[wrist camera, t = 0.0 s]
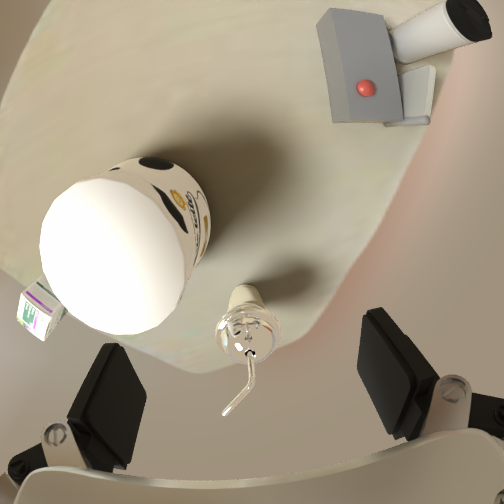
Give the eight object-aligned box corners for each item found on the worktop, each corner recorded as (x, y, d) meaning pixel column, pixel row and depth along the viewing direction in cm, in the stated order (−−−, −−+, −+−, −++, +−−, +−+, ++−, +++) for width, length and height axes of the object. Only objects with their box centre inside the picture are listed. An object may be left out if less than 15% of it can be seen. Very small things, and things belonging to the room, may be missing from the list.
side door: (391, 77, 33) (430, 64, 23) (399, 81, 33) (439, 70, 24) (382, 125, 36) (422, 122, 26) (390, 128, 36) (431, 127, 26)
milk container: (235, 237, 41) (236, 301, 24) (141, 288, 43) (101, 362, 26) (174, 132, 35) (128, 121, 18) (83, 197, 37) (8, 232, 20)
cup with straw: (280, 306, 46) (306, 400, 27) (230, 327, 46) (231, 425, 28) (258, 263, 43) (277, 351, 24) (205, 287, 44) (190, 382, 25)
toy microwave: (316, 25, 30) (331, 5, 23) (370, 30, 30) (392, 15, 23) (332, 122, 36) (352, 118, 29) (387, 123, 36) (413, 120, 29)
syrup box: (67, 251, 40) (18, 291, 26) (94, 271, 41) (50, 318, 28) (58, 275, 41) (13, 318, 28) (83, 294, 43) (43, 343, 29)
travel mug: (379, 26, 30) (454, -20, 11) (412, 39, 30) (492, 7, 12) (381, 57, 32) (465, 20, 13) (414, 69, 33) (501, 47, 14)
